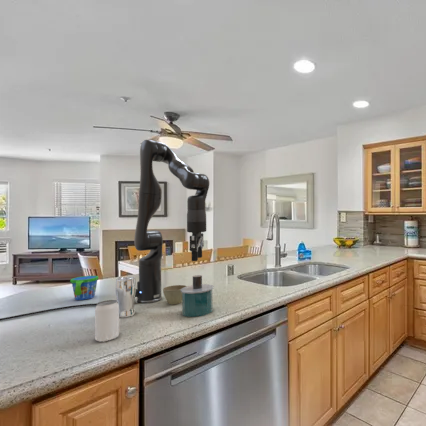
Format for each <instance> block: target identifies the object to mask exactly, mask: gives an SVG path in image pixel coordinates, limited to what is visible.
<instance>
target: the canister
mask: <svg viewBox="0 0 426 426" xmlns="http://www.w3.org/2000/svg"><path fill="white" fill-rule="evenodd" d="M181 303H182V304H181V306H182V307H181V309H182V313H181V315H182V316H183V317H186V318H196V317H203V316H207V315H208V314H211V313H212V312H213V306H214V305H213V289H212V290H210V291H207V292H203V293H194V294H187V293H182V302H181Z"/></svg>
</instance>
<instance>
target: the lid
mask: <svg viewBox="0 0 426 426" xmlns="http://www.w3.org/2000/svg"><path fill="white" fill-rule="evenodd" d="M185 286H186V287H184V288H182V289H181V292H182V293H187V294H194V293H203V292H207V291H210V290H212V291H213V290H214V288H215V287H214V285H212V284H210V283H209V284H207V283H203V275H202V274H197V275H193V276H192V284H191V285H185Z"/></svg>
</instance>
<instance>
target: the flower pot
mask: <svg viewBox="0 0 426 426" xmlns="http://www.w3.org/2000/svg"><path fill="white" fill-rule="evenodd" d="M186 286H187V285H185V284H175V285H174V284H173V285H168V286H165V287H162V292H163V296H164V298H165V300H166V302H167V303H168V305H179V304H181V303H182V292H181V289H182V288H184V287H186Z"/></svg>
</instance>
